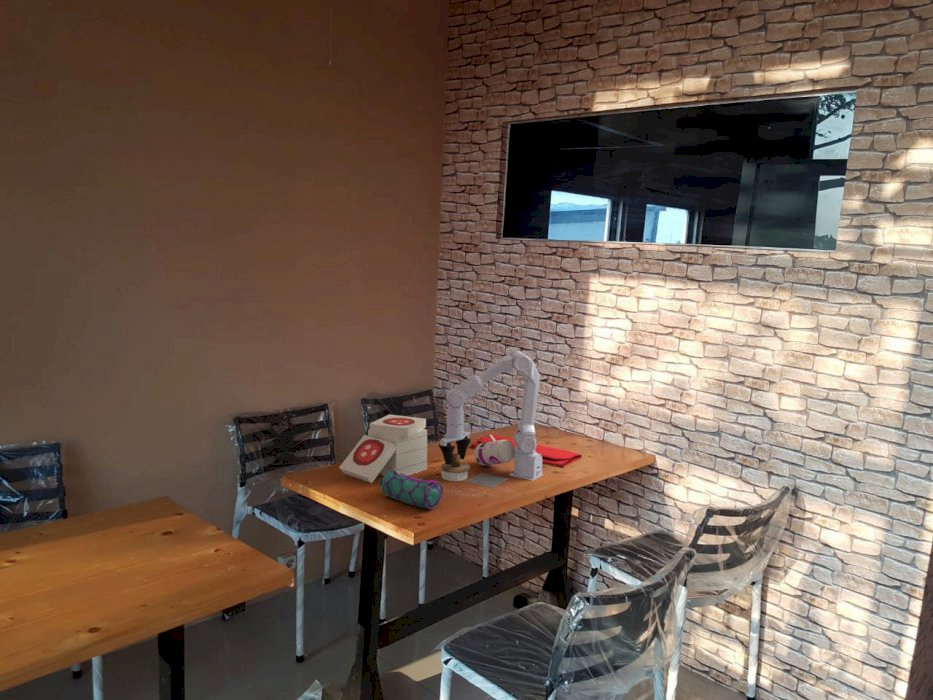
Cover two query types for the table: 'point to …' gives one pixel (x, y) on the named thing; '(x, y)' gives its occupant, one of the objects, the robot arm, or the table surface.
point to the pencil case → (411, 489)
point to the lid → (455, 465)
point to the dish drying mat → (539, 451)
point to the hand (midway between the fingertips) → (454, 461)
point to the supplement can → (494, 452)
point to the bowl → (454, 476)
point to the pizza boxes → (389, 448)
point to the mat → (487, 480)
